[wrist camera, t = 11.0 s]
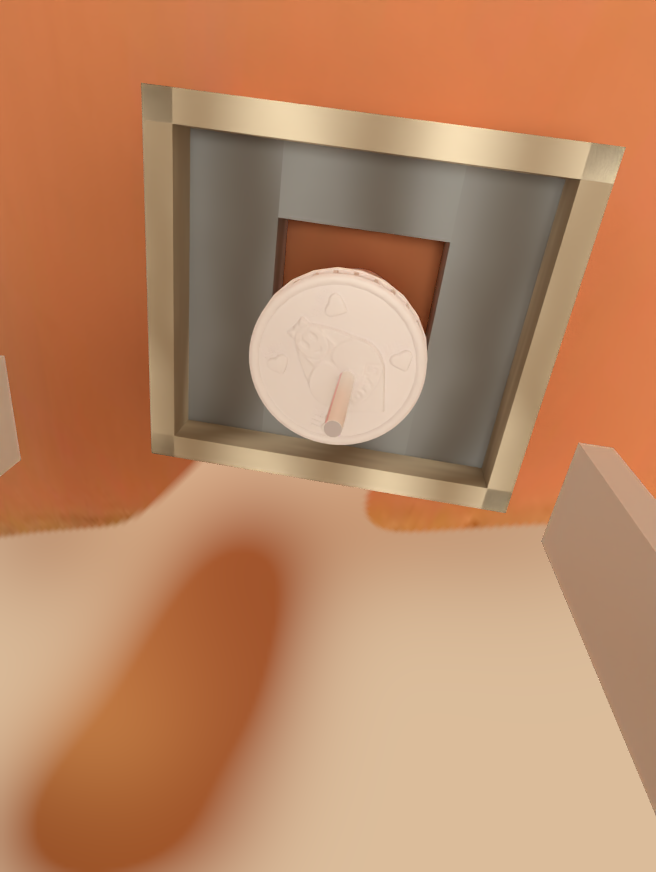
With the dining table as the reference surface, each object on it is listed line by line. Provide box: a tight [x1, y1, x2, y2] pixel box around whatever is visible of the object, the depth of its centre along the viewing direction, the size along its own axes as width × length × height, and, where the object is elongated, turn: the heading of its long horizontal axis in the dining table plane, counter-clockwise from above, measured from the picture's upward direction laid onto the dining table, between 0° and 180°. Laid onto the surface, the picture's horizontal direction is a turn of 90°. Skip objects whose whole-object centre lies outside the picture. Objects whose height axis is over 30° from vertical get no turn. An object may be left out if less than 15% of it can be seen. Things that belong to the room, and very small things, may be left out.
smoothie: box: [249, 267, 428, 445], centre depth 21 cm, size 6×6×14 cm
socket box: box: [141, 83, 626, 513], centre depth 25 cm, size 18×16×4 cm
